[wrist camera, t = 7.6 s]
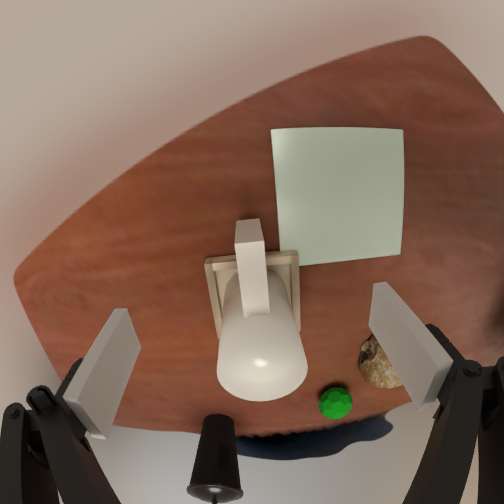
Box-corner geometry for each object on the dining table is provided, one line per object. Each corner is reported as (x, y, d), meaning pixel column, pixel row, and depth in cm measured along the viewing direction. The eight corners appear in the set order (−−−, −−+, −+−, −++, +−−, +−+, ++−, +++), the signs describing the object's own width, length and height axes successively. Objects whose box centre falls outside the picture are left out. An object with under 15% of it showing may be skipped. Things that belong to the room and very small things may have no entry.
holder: (295, 248, 30) (298, 254, 29) (297, 322, 34) (300, 331, 32) (206, 257, 30) (204, 264, 29) (219, 330, 34) (218, 339, 32)
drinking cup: (186, 413, 40) (171, 524, 21) (231, 405, 39) (230, 525, 20) (207, 436, 42) (200, 536, 24) (248, 429, 42) (252, 535, 23)
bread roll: (369, 307, 38) (365, 340, 31) (435, 318, 34) (443, 352, 27) (355, 359, 41) (347, 395, 34) (414, 369, 38) (415, 406, 31)
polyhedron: (353, 382, 38) (362, 405, 34) (337, 403, 40) (345, 425, 36) (325, 379, 38) (332, 403, 33) (310, 400, 39) (316, 424, 35)
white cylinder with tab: (287, 317, 33) (306, 395, 22) (228, 323, 33) (224, 403, 22) (282, 208, 28) (308, 253, 17) (212, 215, 28) (193, 265, 17)
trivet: (400, 129, 26) (402, 129, 25) (397, 252, 31) (400, 254, 30) (270, 129, 26) (270, 129, 25) (280, 265, 31) (281, 267, 30)
